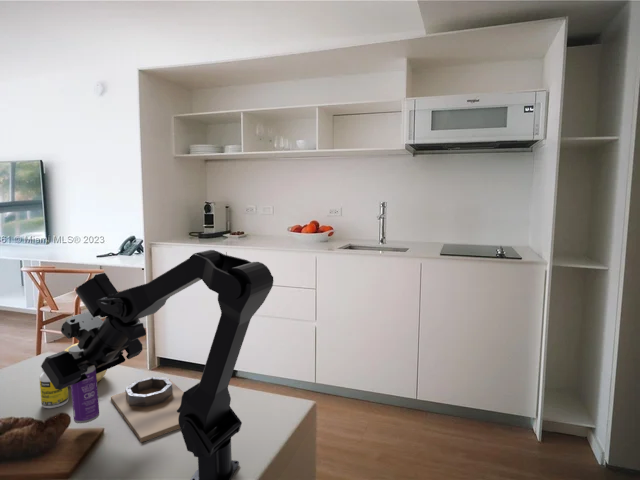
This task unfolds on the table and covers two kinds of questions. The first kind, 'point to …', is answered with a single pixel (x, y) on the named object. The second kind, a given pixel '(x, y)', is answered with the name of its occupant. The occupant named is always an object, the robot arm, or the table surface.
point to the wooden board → (151, 414)
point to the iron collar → (151, 398)
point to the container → (84, 394)
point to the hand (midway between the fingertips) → (79, 378)
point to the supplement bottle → (51, 393)
